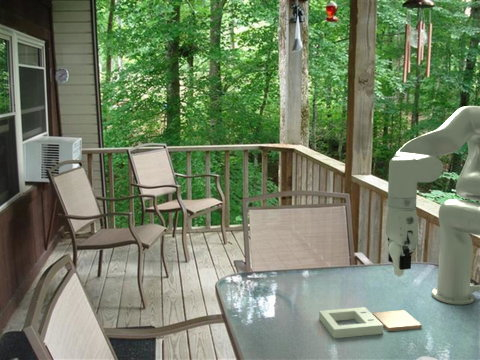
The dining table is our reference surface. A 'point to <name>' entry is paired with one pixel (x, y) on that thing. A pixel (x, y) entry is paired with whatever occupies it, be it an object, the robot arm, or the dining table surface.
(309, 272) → the dining table surface
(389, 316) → the tile
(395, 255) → the lightbulb
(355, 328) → the slotted square frame
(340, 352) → the dining table surface
